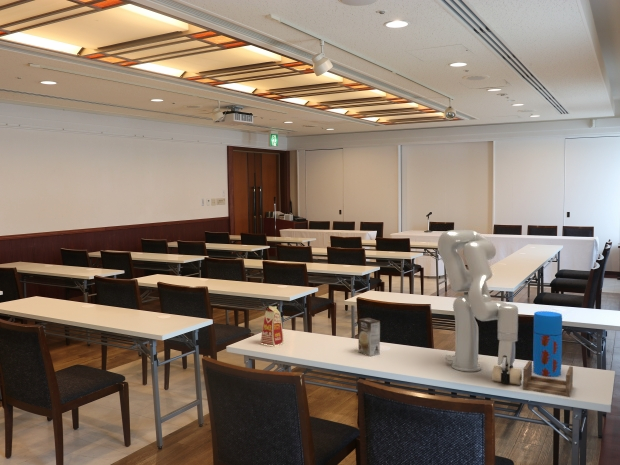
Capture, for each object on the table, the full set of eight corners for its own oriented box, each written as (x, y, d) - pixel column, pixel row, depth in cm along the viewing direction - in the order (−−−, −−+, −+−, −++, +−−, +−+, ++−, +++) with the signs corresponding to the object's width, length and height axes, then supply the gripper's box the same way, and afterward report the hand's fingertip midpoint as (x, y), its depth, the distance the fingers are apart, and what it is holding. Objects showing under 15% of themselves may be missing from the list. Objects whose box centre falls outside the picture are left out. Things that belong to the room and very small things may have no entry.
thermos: (537, 367, 238) (538, 310, 237) (564, 372, 231) (565, 313, 230) (529, 373, 230) (530, 314, 228) (556, 378, 223) (557, 317, 221)
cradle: (523, 389, 211) (523, 368, 210) (528, 380, 221) (528, 360, 220) (569, 396, 202) (569, 375, 202) (572, 387, 213) (572, 366, 212)
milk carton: (274, 347, 274) (273, 307, 273) (259, 344, 279) (259, 305, 278) (285, 343, 282) (284, 304, 281) (270, 340, 287) (270, 302, 286)
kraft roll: (491, 382, 219) (491, 367, 219) (494, 378, 224) (494, 363, 224) (520, 387, 214) (520, 372, 213) (522, 382, 219) (522, 367, 218)
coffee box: (357, 352, 264) (357, 319, 263) (367, 350, 267) (367, 317, 267) (370, 356, 256) (370, 322, 255) (380, 354, 260) (380, 320, 259)
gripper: (502, 330, 227) (501, 373, 228) (492, 339, 212) (492, 385, 213) (521, 332, 223) (520, 376, 224) (513, 341, 208) (512, 388, 209)
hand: (507, 380), depth 219 cm, fingers closed on kraft roll, 6 cm apart
